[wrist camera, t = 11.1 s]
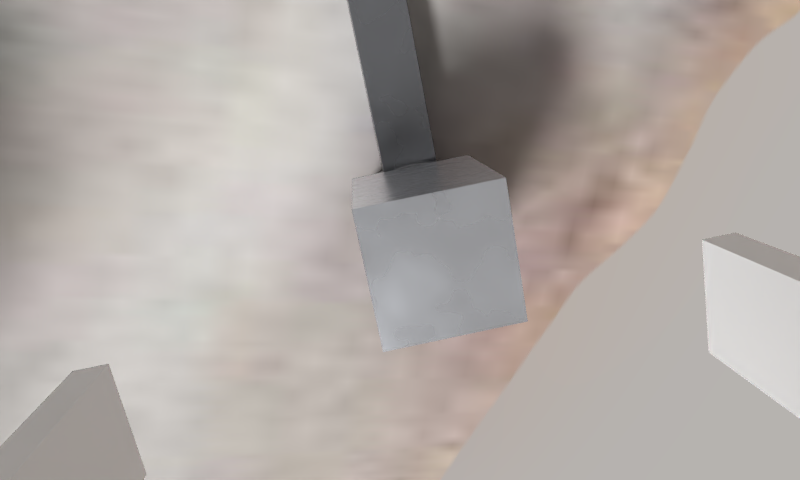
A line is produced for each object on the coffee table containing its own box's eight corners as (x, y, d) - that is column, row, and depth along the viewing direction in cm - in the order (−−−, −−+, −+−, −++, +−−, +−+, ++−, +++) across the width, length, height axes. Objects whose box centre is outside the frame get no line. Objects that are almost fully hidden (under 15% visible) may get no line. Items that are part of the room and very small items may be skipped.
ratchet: (373, 277, 35) (378, 327, 28) (254, -252, 28) (220, -368, 21) (480, 254, 35) (513, 297, 28) (387, -278, 29) (399, -403, 21)
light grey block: (352, 178, 31) (351, 209, 23) (467, 155, 31) (505, 177, 23) (376, 288, 32) (383, 351, 24) (486, 265, 32) (527, 321, 25)
